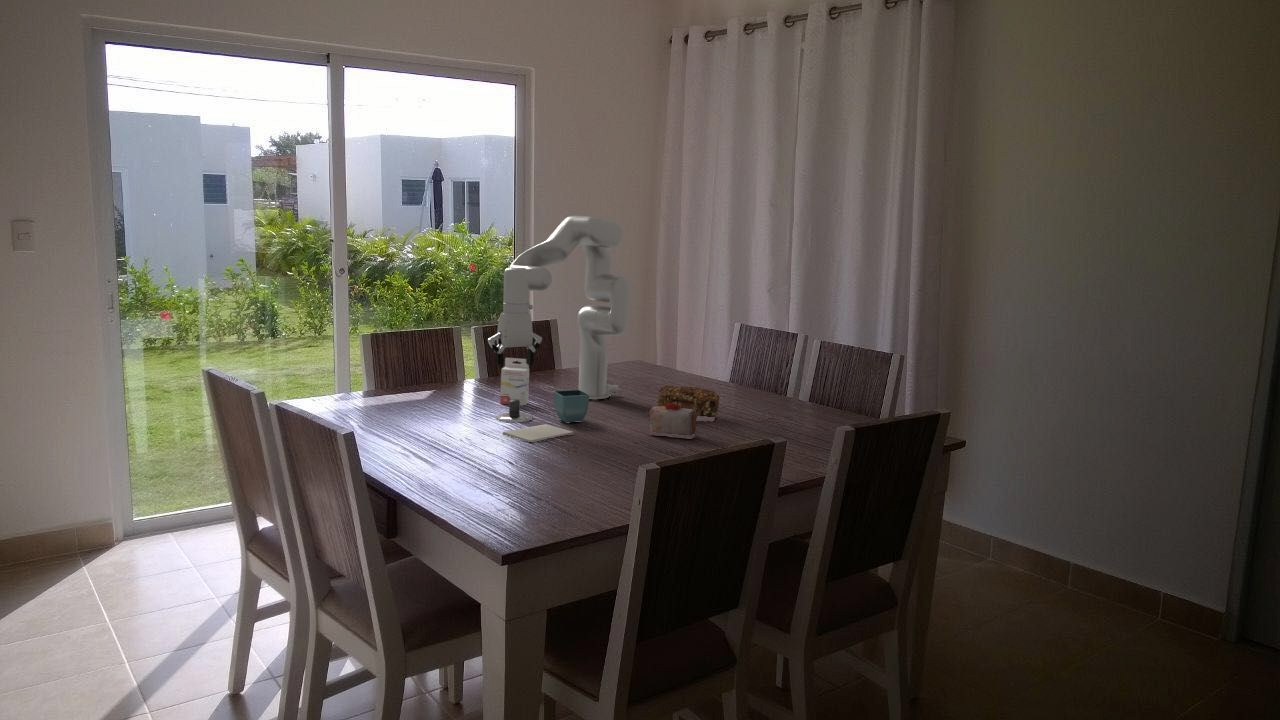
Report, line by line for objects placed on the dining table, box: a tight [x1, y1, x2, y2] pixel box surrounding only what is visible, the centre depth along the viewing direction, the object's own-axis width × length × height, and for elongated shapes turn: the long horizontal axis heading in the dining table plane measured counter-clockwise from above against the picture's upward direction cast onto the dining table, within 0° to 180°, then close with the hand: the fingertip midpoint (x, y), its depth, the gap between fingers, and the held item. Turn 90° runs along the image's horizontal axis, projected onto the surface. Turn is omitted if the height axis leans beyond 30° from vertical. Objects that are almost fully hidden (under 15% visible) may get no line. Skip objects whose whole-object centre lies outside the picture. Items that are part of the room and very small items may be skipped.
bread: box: [657, 385, 720, 417], centre depth 293 cm, size 19×11×10 cm, turn 80°
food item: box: [649, 402, 697, 435], centre depth 269 cm, size 14×8×10 cm, turn 73°
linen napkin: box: [502, 423, 574, 443], centre depth 264 cm, size 16×12×1 cm
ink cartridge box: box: [499, 357, 530, 406], centre depth 303 cm, size 9×5×15 cm, turn 84°
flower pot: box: [552, 389, 590, 423], centre depth 281 cm, size 9×9×9 cm
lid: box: [495, 400, 534, 423], centre depth 283 cm, size 11×11×6 cm
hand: (514, 365), depth 280 cm, fingers open, 9 cm apart
